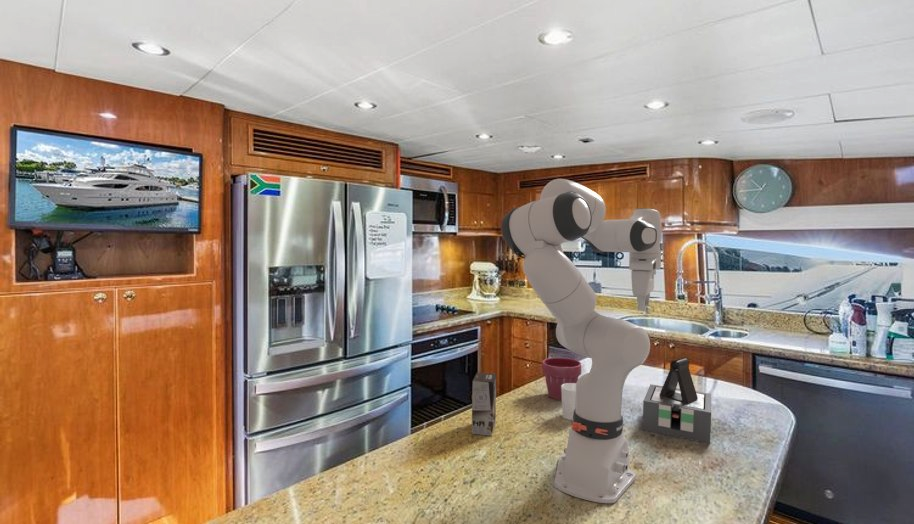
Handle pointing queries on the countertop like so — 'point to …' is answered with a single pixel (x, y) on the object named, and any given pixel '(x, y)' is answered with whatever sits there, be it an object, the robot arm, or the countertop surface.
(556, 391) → the plant pot
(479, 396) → the coffee box
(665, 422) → the scale housing
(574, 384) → the white cup
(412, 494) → the countertop surface
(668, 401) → the pan
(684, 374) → the phone stand
